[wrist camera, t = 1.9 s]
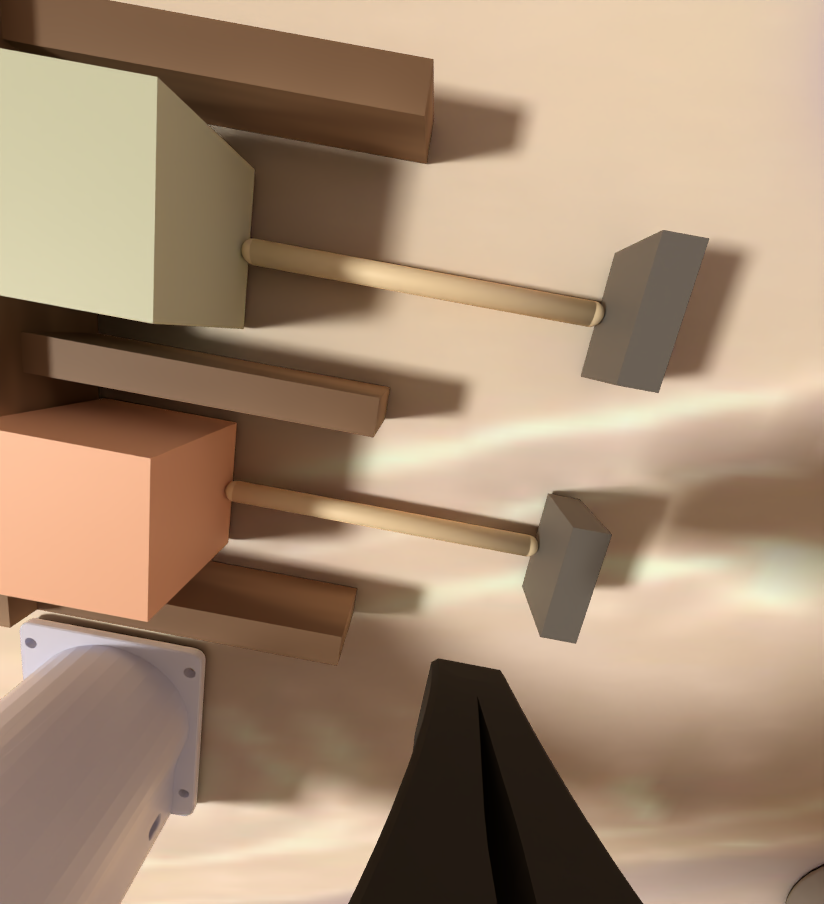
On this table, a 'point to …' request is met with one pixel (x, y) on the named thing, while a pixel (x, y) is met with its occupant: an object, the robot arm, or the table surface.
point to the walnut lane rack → (195, 373)
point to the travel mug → (809, 889)
